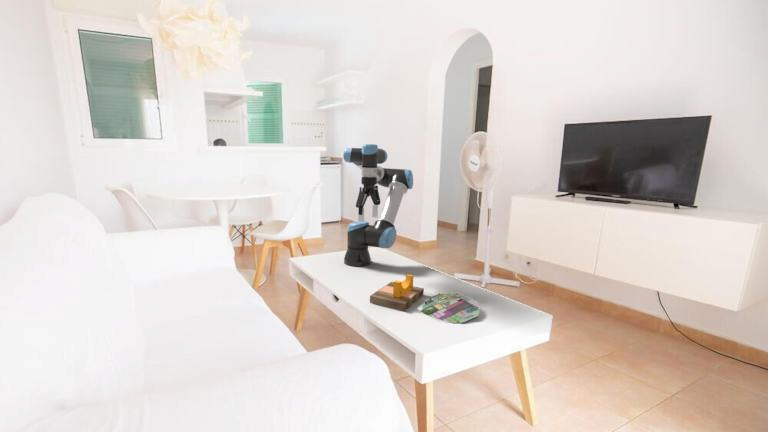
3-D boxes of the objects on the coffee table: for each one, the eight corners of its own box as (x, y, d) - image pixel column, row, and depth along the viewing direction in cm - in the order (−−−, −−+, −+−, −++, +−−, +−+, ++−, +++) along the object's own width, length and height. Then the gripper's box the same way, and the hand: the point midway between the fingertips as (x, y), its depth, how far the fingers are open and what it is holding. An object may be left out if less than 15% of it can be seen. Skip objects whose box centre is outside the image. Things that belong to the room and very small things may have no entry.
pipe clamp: (404, 287, 165) (404, 273, 164) (412, 289, 162) (413, 275, 161) (389, 295, 155) (390, 280, 154) (398, 297, 153) (399, 282, 151)
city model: (407, 316, 148) (406, 302, 147) (436, 293, 166) (436, 280, 165) (465, 337, 134) (465, 322, 132) (490, 309, 152) (490, 296, 150)
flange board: (391, 287, 172) (391, 281, 172) (423, 294, 165) (423, 288, 165) (369, 302, 155) (370, 295, 154) (404, 311, 148) (405, 303, 147)
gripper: (362, 178, 169) (361, 224, 172) (387, 175, 190) (386, 216, 194) (348, 177, 172) (348, 222, 176) (375, 174, 194) (374, 215, 197)
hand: (368, 219), depth 185 cm, fingers open, 13 cm apart
